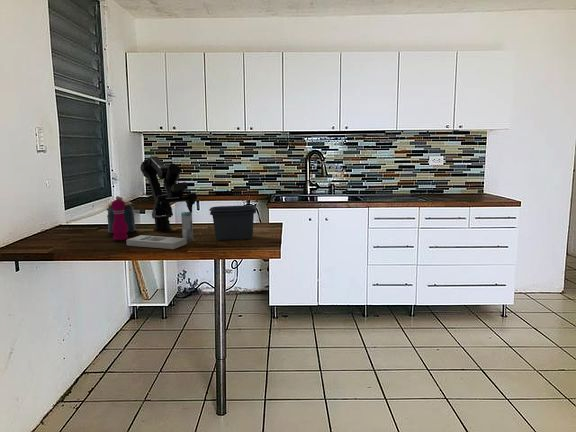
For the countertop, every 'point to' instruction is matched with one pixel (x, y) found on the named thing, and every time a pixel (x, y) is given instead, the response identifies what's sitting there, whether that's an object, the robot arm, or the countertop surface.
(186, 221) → the sleeve
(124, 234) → the pepper mill
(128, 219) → the canister
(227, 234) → the storage bin
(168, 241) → the white flat box
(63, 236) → the countertop surface
